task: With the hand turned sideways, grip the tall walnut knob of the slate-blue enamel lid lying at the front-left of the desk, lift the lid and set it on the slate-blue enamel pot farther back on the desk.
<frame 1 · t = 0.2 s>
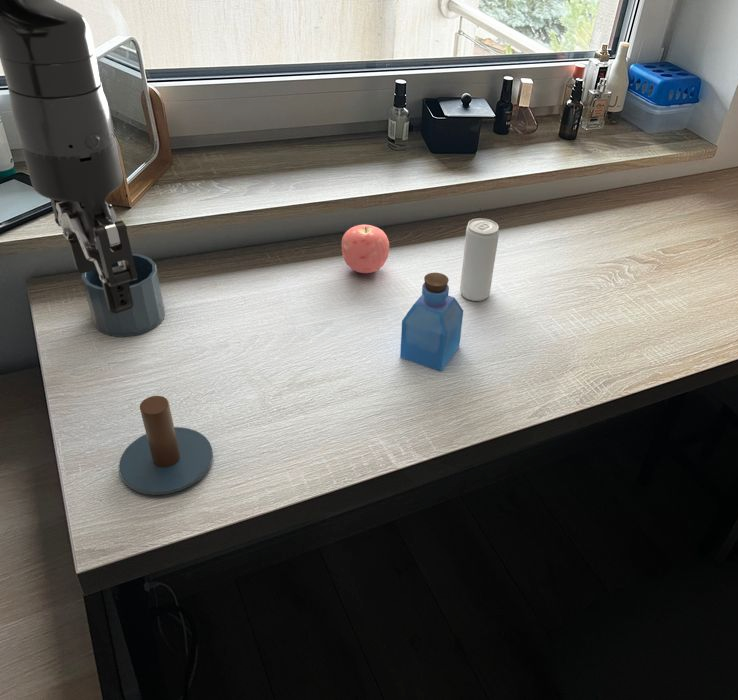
hand: (104, 289, 73), 18 cm above the table, tool pointing down, fingers open, 8 cm apart
pot: (130, 316, 100), on the table
apple: (365, 270, 115), on the table
perfume bottle: (430, 352, 100), on the table
beverage can: (474, 294, 113), on the table
lid: (167, 460, 80), point 1 cm above the table
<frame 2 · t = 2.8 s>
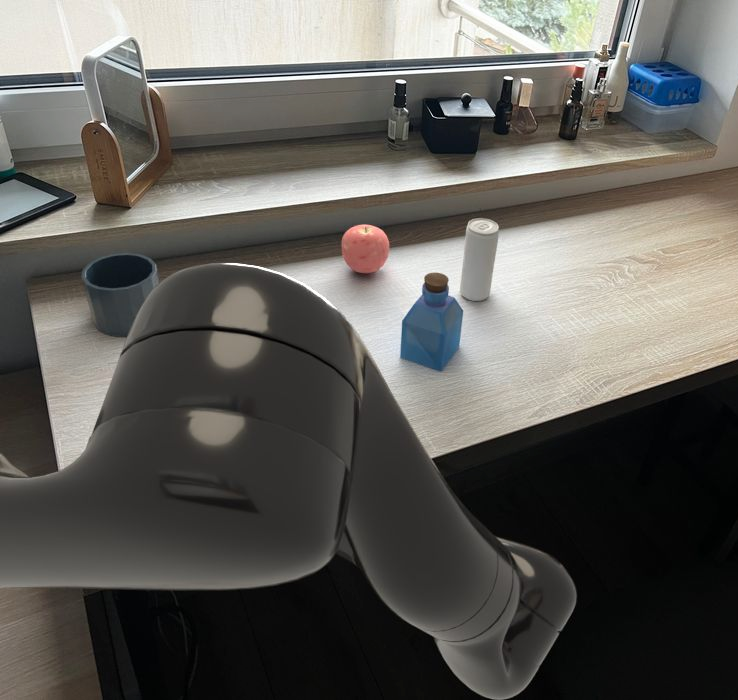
hand: (214, 404, 65), 16 cm above the table, tool horizontal, fingers open, 8 cm apart
nothing on the table moved.
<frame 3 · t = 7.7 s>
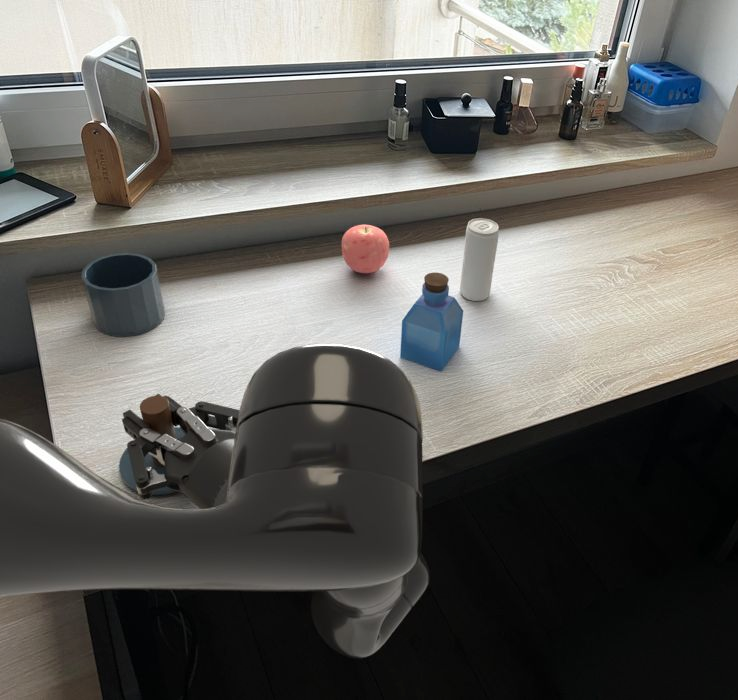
hand: (142, 409, 77), 7 cm above the table, tool horizontal, fingers closed on lid, 3 cm apart
lid: (167, 460, 80), point 1 cm above the table, touching gripper
everything else where it was.
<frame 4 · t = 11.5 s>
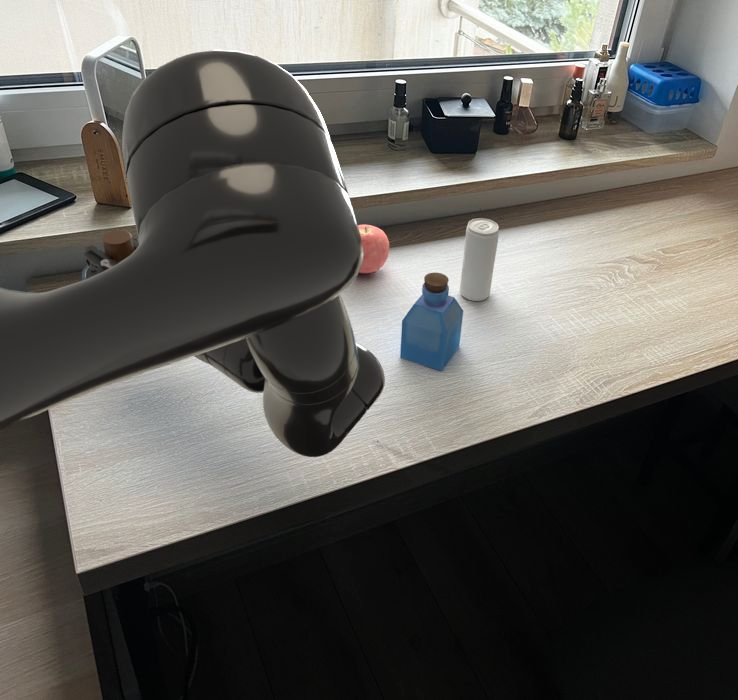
hand: (105, 248, 77), 20 cm above the table, tool horizontal, fingers closed on lid, 3 cm apart
lid: (132, 304, 79), point 14 cm above the table, touching gripper
everything else where it was.
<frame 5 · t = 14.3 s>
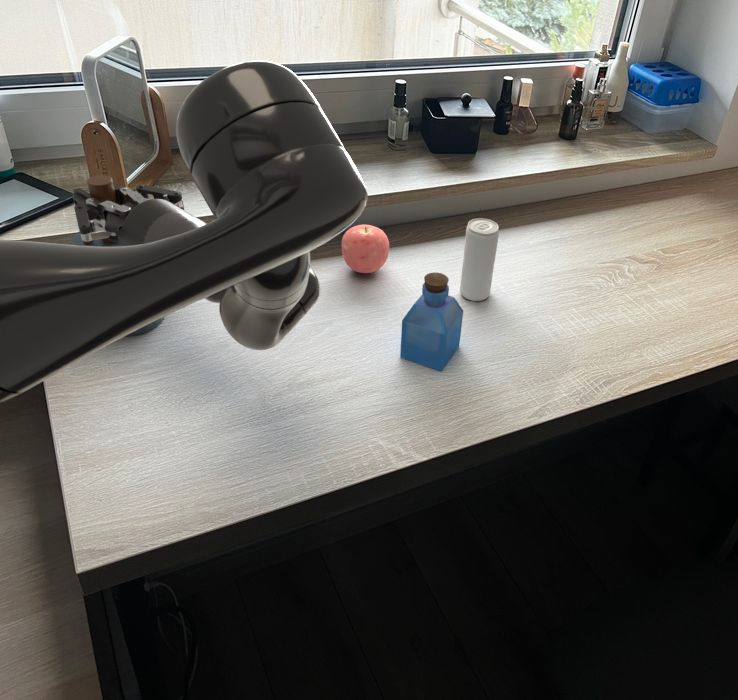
hand: (90, 191, 90), 18 cm above the table, tool horizontal, fingers closed on lid, 3 cm apart
lid: (114, 241, 92), point 12 cm above the table, touching gripper
everything else where it was.
when the fingers open (13 cm above the table, at t = 15.8 s): lid stays where it is, resting on pot.
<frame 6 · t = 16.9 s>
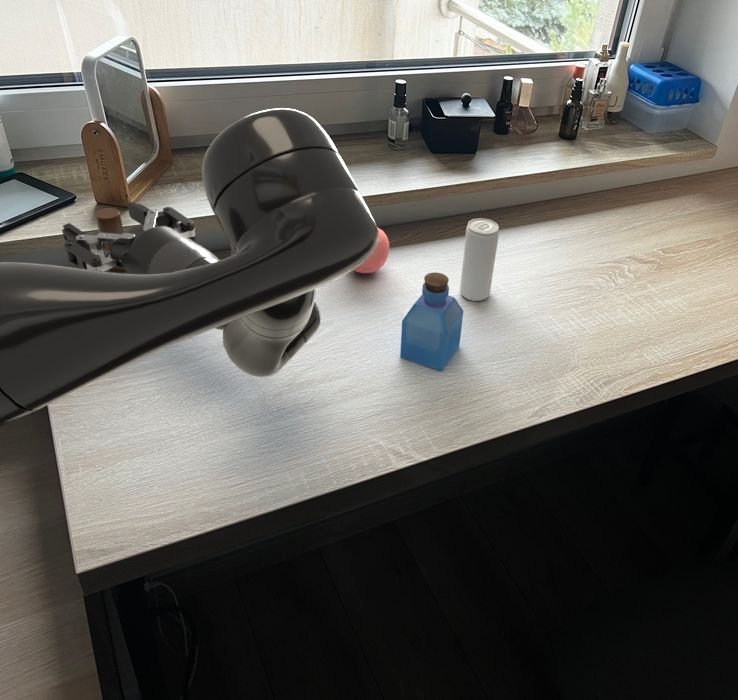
hand: (99, 219, 92), 14 cm above the table, tool horizontal, fingers open, 8 cm apart
lid: (120, 270, 95), point 7 cm above the table, touching pot
everything else where it was.
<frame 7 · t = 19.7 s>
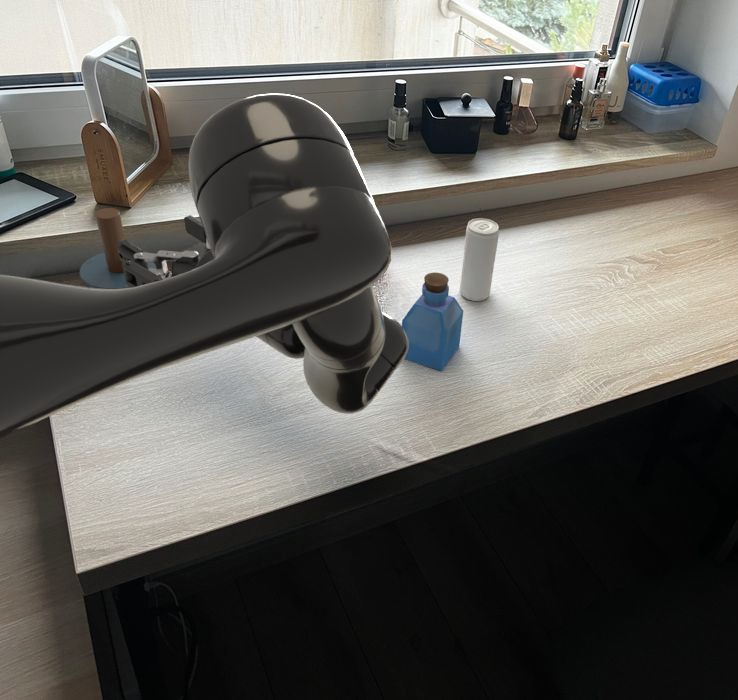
hand: (155, 235, 84), 17 cm above the table, tool horizontal, fingers open, 8 cm apart
nothing on the table moved.
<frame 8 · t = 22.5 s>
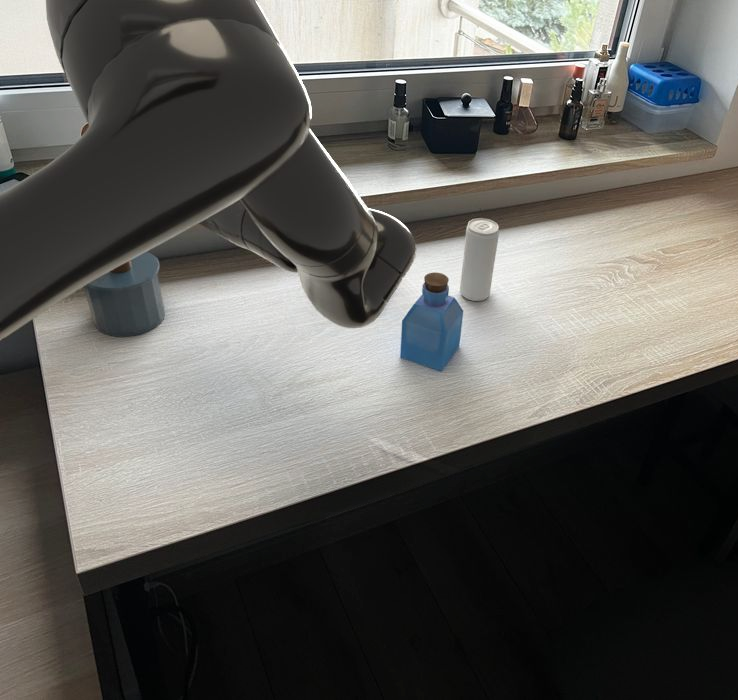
hand: (141, 150, 78), 28 cm above the table, tool horizontal, fingers open, 8 cm apart
nothing on the table moved.
at the end: lid 0.1 cm off-centre on the pot, point 7.5 cm above the pot's base; lid tilted 0° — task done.
